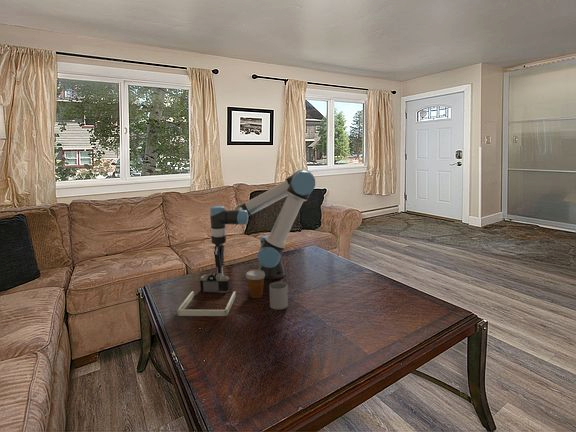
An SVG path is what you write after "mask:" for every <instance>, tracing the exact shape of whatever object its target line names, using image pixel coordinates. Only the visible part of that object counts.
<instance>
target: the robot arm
mask: <svg viewBox="0 0 576 432" xmlns="http://www.w3.org/2000/svg"><path fill="white" fill-rule="evenodd" d="M315 188H316V178H315V176H314V174H313V173H312V172H311V171H309V170H307V169H299V170H296V172H294V173H293V174H292V175H290V176H288V177H286V178H285V180H284V181H283V182H281V183H279V184H278V185H276V186H274V187H272V188H270V189H268V190H267V191H264V192H263V193H260V194H259V195H257V196H255V197H253V198H251V199H250V200H248V201H246V202H244V203H242V204H240V205H237V206H236V207H235V208H234V209H231V210H230V209H229V210H228V209H225V206H224V205H216V206H215V205H214V206H211V207H210V208H209V209H210V213H209V214H210V215H209V218H210V229H209V230H210V232H211V233H210V235H211V237H210V239H211V240H210V241H211V244H212V245H214V251H213V254H214V263H215V268H217V269H216V273H217V274H220V275H221V276H222V275H224V266H225V264H224V263H225V260H224V259H225V258H224V257H225V245H224V244H226V242H227V236H226V234H227V232H226V231H227V230H226V225H234V226H235V225H237V226H238V225H241V226H242V225H247V224H248V223H249V217H250V216H252V215H254V214H255V213H258V212H260V211H261V210H263V209H265V208H267V207H269V206H271V205H273V204H274V203H276V202H278V201H280V200H282V199H284V198H285V201H284V202H283V205H282V207H281V210H280V211H279V214H278V216H277V218H276V220H275V222H274V224H273V227H272V229H271V231H270V234H269V235H263V236H261V237H260V241H259V242H260V247H259V249H258V252H257V261H258V263H259V264H260V265H259V268H258V270H262V271H264V273H265V277H264V280H278V279H281V278H283V277H285V275H286V274H285V269H284V265H283V263H282V254H283V252H284V250H285V249H286V245H285V241H286V240H287V238H288V235H289V233H290V231H291V229H292V227H293V224H294V222H295V220H296V219H297V217H298V214H299V212H300V209H301V207H302V205H303V203H304V202H307V201H308V199H309V198H310V195H311V193H312V192H313V191H314V190H315Z"/></svg>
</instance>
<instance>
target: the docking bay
mask: <svg viewBox="0 0 576 432" xmlns="http://www.w3.org/2000/svg"><path fill="white" fill-rule="evenodd" d="M194 297H195V291H193V290H192V291H191V292H190V293H189V294H188V296H187V297H186V298H185V299H184V301H183V302H182V303H181V305H180V306H179V307H178V308H177V310H176V316H177V317H184V316H185V317H186V316H187V317H227V316H229V312H230V311H231V308H232V306H233V303H234V301H235V299H236V298H237V291H232V294H231V296H230V298H229V300H228V301H227V302H228V303H227V304H226V307H225V309H191V308H190V309H188V308H187V306H189V304H190V302H191V301H192V300H193V299H194ZM186 308H187V309H186Z"/></svg>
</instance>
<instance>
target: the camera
mask: <svg viewBox="0 0 576 432" xmlns="http://www.w3.org/2000/svg"><path fill="white" fill-rule="evenodd" d="M199 283H200V284H199V285H200V286H199V287H200V292H204V293H222V294H223V293H229V291H230V278H229V276H227V275H226V276H225V274H223V275H222V276H221V275H220V274H217V272H215V271H214V272H210V273H209V274H208V273H205V274H203V275H201V276H200V281H199Z"/></svg>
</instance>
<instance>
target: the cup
mask: <svg viewBox="0 0 576 432" xmlns="http://www.w3.org/2000/svg"><path fill="white" fill-rule="evenodd" d="M268 289H269V308H271V309H273V310H284V309H287V307H288V306H289V304H288V302H289V301H288V300H289V296H288V293H289V292H288V289H289V288H288V284H287V283H286V282H283V281H274V282H271V283H270V284H269V288H268Z"/></svg>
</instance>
